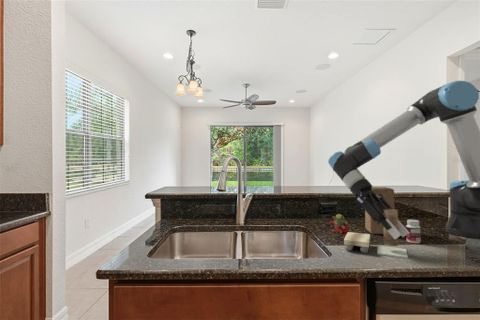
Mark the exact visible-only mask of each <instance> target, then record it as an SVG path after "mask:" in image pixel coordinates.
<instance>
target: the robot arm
mask: <svg viewBox="0 0 480 320" xmlns="http://www.w3.org/2000/svg"><path fill="white" fill-rule="evenodd" d="M479 95H480V94H479V91H478V89H477V87H476V86H475V85H474V84H473V83H471V82H469V81H465V80H455V81H451V82H447V83H445V84H443V85H441V86H439V87H437V88H434V89H432V90H430V91H429V92H427V93H425V95H423V96H422V97H420V98H419V99H418V100H417V101H415V102H413V104H411V105H409V106H408V107H407V108H406V111H404V112H403V113H401V114H399V115H398V116H397V117H395V118H394V119H391V120H390V121H388V122H387V123H385V124H384V125H383V126H381V127H379V128H378V129H376V130H374V131H372V133H370V134H368V135H367V136H365V137H364V138H362V139H361V140H359V141H357V142H356V143H355V144H353V145H351V146H348V147H347V148H346V149H345V150H344V152H343V151H335V152H334V153H333V154H331V155H330V157H329V158H328V163H327V164H328V165H329V166H330V168H331V169H332V171H334V172H335V174H336V175H337V176H338V177H339V178H340V180H341V181H342V182H343V183H344V185H345V186H346V187H347V188H348V189H349V191H350V192H351V193H352V195H353V196H354V197H355V198H356V199H355V200H356V202H357V204H359V205H360V206H361V207H362V208H363V210H364V212H365V211H366V212H367V213H368V214H369V215H370V217H371V218H372V219H373V220H374V221H375V222H377V221H378V222H377V224H380V223H381V224H382V225H383V226H384V227H385V229H386V230H387V231H388V232H389V233H390V235H391V236H392V237H393V238H394V239H397V238H398V239H399V237H400V236H401V237H402V238H405V236H406V235H407V234H408V233H409V232H408V230H407V229H406V226H404V225H403V224H402V223H401V221H400V220H399V219H398V230H397V229H396V228H395V226H394V225H393V224H392V223H391V222H390V221H389V219H386V220H385V217H384V215H383V214H382V213H383V209H393V208H392V207H391V206H390V205H389V204H388V203H387V201H386V200H385V199H384V198H383V196H382V195H381V194H379V195H376V193H375V192H373V191H372V187H373V185H372V184H371V182H370V181H369V180H368V179H367V178H366V176H365V175H364V174H363V173H362V172H361V170H360V169H358V168H360V167H362V166H363V165H365V164H366V163H367V164H368V162H370V161H372V160H374V159H376V158H377V157H378V156H380V155H381V153H382V152H381V151H382V150H381V148H382V147H384V146H386V145H387V144H389V143H390V142H392V141H393V140H395V139H396V138H397V139H398V137H401V136H402V135H403V134H405V133H406V132H408V131H409V130H411V129H412V128H414V127H416V126H418V125H423V124H425V123H427V122H428V121H430V120H434V119H436V118H439V122H440V123H442V124H445V125H446V126H447V128H448V131H449V133H450V135H451V138H452V141H453V143H454V145H455V149H456V151H457V153H458V156H459V158H460V160H461V163H462V166H463V168H464V171H465V173H466V175H467V178H468V180H454V181H451V182H450V183H449V190H448V191H449V217H448V220H447V222H446V225H445V232H446V233H448V234H451V235H454V236H459V237H464V238H471V239H472V238H473V239H480V128H479V126H478V123H477V121H476V118H475V114H476V113H477V112H478V110H477V106H476V104H477V103H478V100H479V98H480V96H479ZM376 202H377V203H376Z"/></svg>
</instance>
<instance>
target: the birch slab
mask: <svg viewBox="0 0 480 320" xmlns="http://www.w3.org/2000/svg"><path fill="white" fill-rule="evenodd" d="M345 234H346V235H344V239H343V245H344V246H345V247H344V249H345V251H347V252H351V251H352V250H353V248H354V246H355V247H360V249H359V250H360V252H361V253H363V254H367V253H368V251H369V247H370V242H371V233H370V234H369V233H361V232H360V233H359V232H353V231H352V232H351V231H348V232H347V233H345Z"/></svg>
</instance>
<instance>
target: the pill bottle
mask: <svg viewBox="0 0 480 320" xmlns="http://www.w3.org/2000/svg"><path fill="white" fill-rule="evenodd" d="M406 223H407V224H406V225H405V228H406V229H407V230H408V232H409V233H408V234H407V235H406V242H408V243H412V244H421V240H422V239H421V236H422V235H421V234H422V233H421V228H422V227H421V226H420V221H419V220H417V219H407V220H406Z"/></svg>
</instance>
